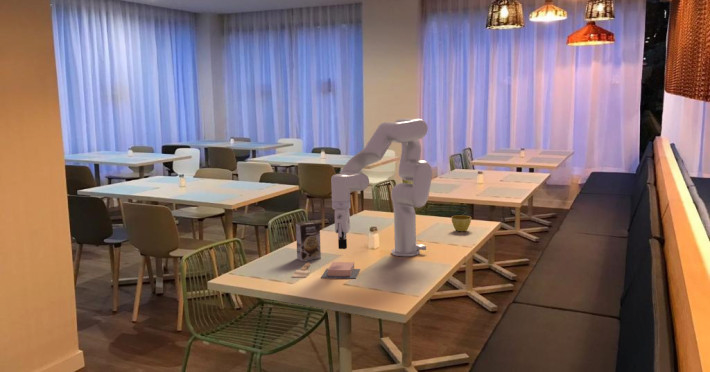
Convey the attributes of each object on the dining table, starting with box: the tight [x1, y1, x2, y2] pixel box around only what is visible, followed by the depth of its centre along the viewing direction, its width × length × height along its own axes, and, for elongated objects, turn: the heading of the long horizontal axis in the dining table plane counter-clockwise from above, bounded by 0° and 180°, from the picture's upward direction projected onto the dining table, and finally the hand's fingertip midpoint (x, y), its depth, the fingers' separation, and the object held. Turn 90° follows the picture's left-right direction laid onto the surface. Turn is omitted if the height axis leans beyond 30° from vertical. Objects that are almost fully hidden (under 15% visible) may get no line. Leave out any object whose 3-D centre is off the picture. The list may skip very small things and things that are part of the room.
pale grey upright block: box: [327, 261, 355, 276], centre depth 242 cm, size 9×3×11 cm
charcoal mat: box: [320, 268, 361, 280], centre depth 241 cm, size 14×12×1 cm
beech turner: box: [291, 262, 311, 279], centre depth 246 cm, size 17×6×1 cm, turn 172°
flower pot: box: [451, 214, 472, 232], centre depth 307 cm, size 10×10×7 cm
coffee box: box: [295, 220, 322, 262], centre depth 264 cm, size 9×6×16 cm
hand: (342, 248), depth 246 cm, fingers closed
